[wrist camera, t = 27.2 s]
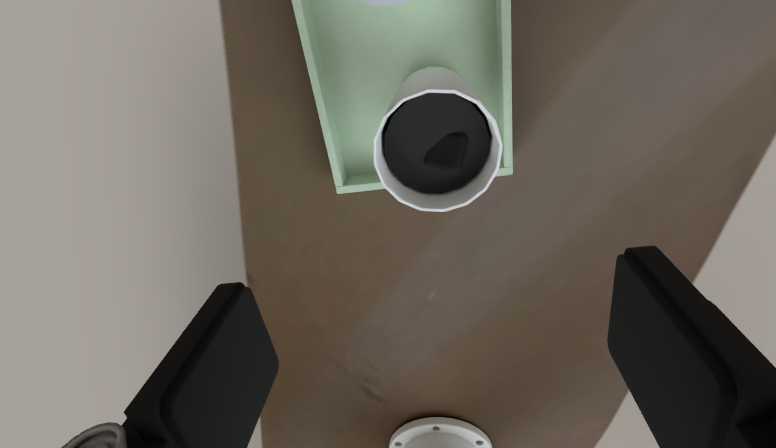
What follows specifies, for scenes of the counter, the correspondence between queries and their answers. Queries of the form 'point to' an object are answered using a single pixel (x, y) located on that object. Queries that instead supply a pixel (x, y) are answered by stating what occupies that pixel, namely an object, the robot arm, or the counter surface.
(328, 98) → the tray
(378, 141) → the white tumbler
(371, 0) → the white tapered cup
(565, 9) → the counter surface
